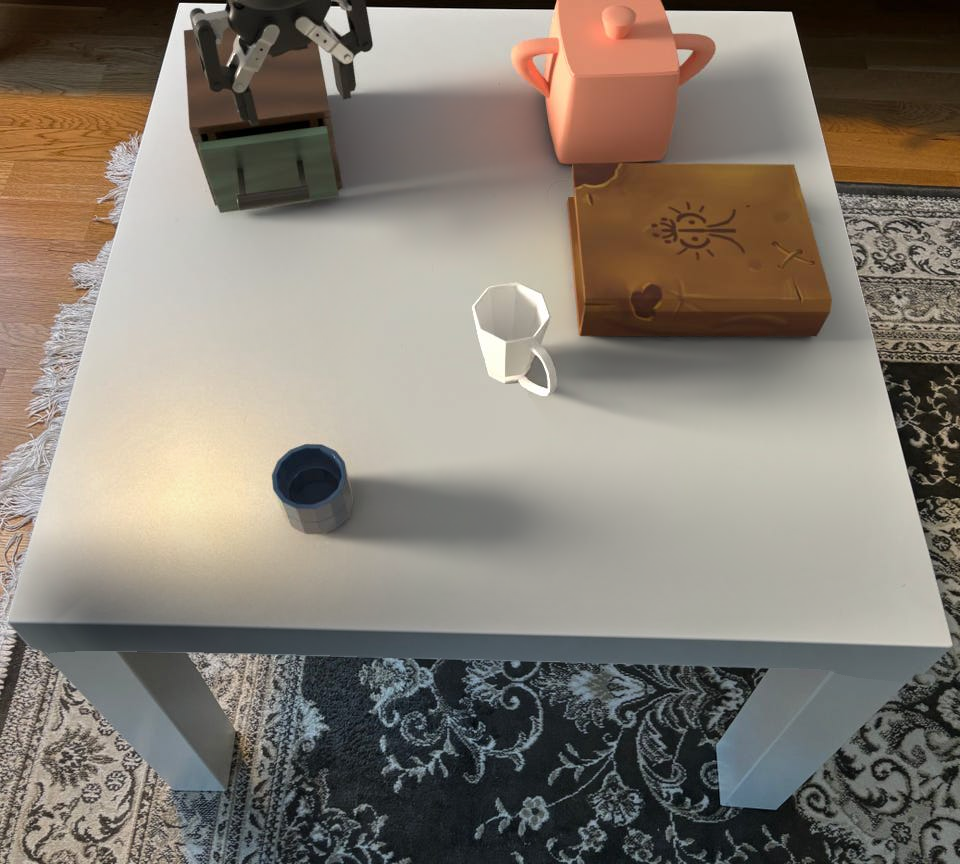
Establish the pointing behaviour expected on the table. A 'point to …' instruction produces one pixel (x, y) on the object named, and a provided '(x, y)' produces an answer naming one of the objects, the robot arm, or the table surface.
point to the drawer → (269, 165)
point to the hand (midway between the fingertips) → (298, 106)
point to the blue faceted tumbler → (313, 488)
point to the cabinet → (259, 94)
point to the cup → (514, 334)
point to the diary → (694, 251)
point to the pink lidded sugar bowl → (611, 78)
